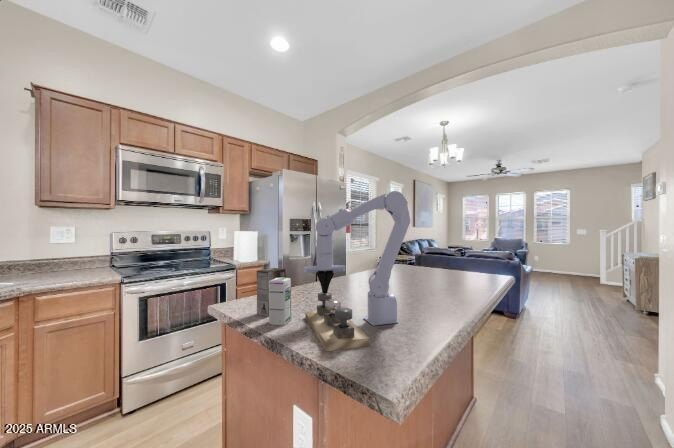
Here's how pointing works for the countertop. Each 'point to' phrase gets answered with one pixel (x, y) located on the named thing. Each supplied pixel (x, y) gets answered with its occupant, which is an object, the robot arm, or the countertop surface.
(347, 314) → the knob
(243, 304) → the countertop surface
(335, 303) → the knob middle
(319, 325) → the mount board
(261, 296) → the coffee box
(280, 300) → the syrup box
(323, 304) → the knob
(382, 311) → the robot arm
